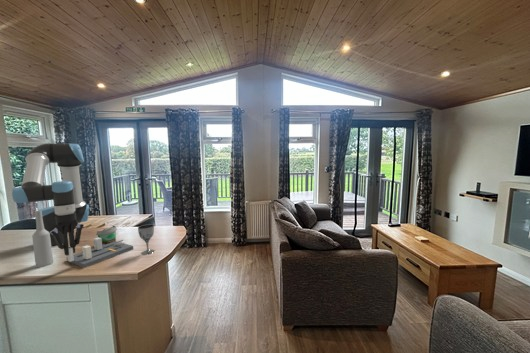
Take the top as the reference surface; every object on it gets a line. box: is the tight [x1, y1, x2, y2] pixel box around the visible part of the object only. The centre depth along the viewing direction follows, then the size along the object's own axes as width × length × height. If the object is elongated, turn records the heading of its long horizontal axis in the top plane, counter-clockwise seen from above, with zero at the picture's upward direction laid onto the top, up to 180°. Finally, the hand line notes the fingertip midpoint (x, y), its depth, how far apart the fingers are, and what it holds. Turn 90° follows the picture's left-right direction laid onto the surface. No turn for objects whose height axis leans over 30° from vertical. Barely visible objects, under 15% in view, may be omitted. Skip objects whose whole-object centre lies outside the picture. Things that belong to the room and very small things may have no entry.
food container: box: [96, 225, 118, 246], centre depth 145 cm, size 12×6×10 cm, turn 168°
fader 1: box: [81, 244, 92, 259], centre depth 119 cm, size 4×2×6 cm, turn 61°
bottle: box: [31, 210, 54, 268], centre depth 118 cm, size 7×7×28 cm
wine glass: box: [137, 223, 156, 256], centre depth 130 cm, size 8×8×15 cm
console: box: [66, 239, 134, 269], centre depth 129 cm, size 18×25×4 cm
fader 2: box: [93, 236, 103, 250], centre depth 131 cm, size 4×2×6 cm, turn 61°
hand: (70, 260), depth 113 cm, fingers closed
